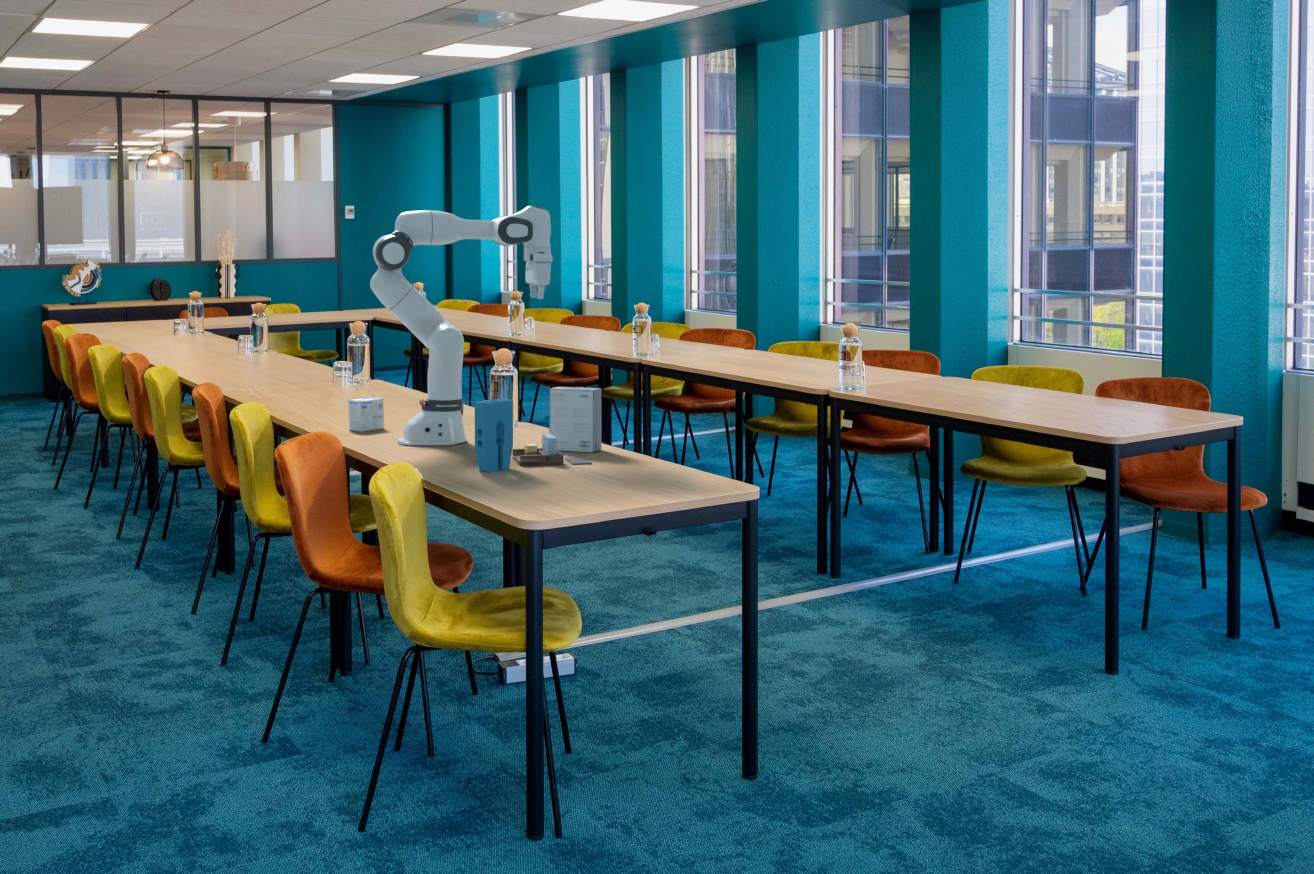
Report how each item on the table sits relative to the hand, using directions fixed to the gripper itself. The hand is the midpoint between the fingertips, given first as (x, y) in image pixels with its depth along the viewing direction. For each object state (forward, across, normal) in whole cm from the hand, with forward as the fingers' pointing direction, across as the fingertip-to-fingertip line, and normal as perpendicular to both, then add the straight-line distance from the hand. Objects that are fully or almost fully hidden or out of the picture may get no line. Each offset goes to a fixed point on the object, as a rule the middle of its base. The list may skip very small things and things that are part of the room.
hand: (537, 298), depth 415 cm
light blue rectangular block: (+46, +43, -6) cm, 63 cm away
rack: (+47, +43, -10) cm, 64 cm away
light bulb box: (+48, -34, -52) cm, 79 cm away
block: (+48, +52, -25) cm, 75 cm away
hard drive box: (+48, +24, +7) cm, 54 cm away
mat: (+47, +46, +2) cm, 66 cm away
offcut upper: (+44, +40, -11) cm, 61 cm away
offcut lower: (+46, +40, -11) cm, 62 cm away
